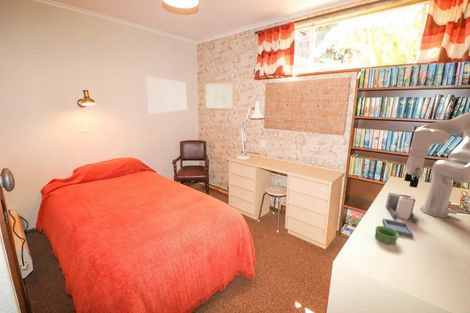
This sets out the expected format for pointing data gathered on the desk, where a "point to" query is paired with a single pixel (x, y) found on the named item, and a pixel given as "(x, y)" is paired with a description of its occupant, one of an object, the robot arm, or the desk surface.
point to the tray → (398, 227)
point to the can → (404, 207)
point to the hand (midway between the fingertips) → (410, 184)
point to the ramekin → (386, 235)
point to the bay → (392, 206)
